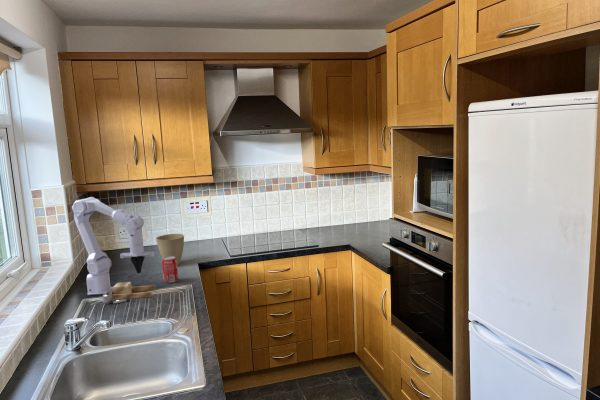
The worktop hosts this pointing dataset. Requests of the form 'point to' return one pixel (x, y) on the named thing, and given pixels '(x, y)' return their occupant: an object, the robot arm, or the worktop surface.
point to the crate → (122, 288)
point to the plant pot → (171, 245)
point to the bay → (135, 295)
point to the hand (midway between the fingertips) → (139, 272)
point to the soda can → (170, 269)
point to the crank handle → (122, 300)
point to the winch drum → (108, 298)
